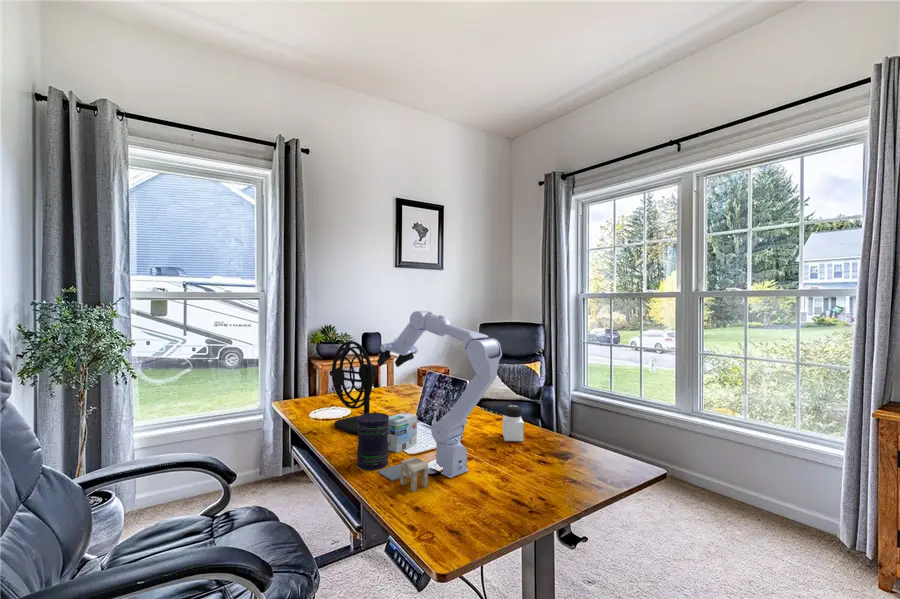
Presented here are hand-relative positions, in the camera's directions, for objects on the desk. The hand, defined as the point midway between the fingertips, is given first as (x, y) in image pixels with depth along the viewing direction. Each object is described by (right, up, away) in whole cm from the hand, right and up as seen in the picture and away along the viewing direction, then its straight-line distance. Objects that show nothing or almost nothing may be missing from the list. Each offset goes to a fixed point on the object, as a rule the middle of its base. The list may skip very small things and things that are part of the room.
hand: (387, 364), depth 143 cm
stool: (+12, -30, -28) cm, 42 cm away
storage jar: (-3, -30, -13) cm, 33 cm away
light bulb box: (+4, -30, +2) cm, 30 cm away
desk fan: (-16, -29, +23) cm, 40 cm away
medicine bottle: (+46, -30, +13) cm, 56 cm away
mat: (+5, -30, -20) cm, 36 cm away
